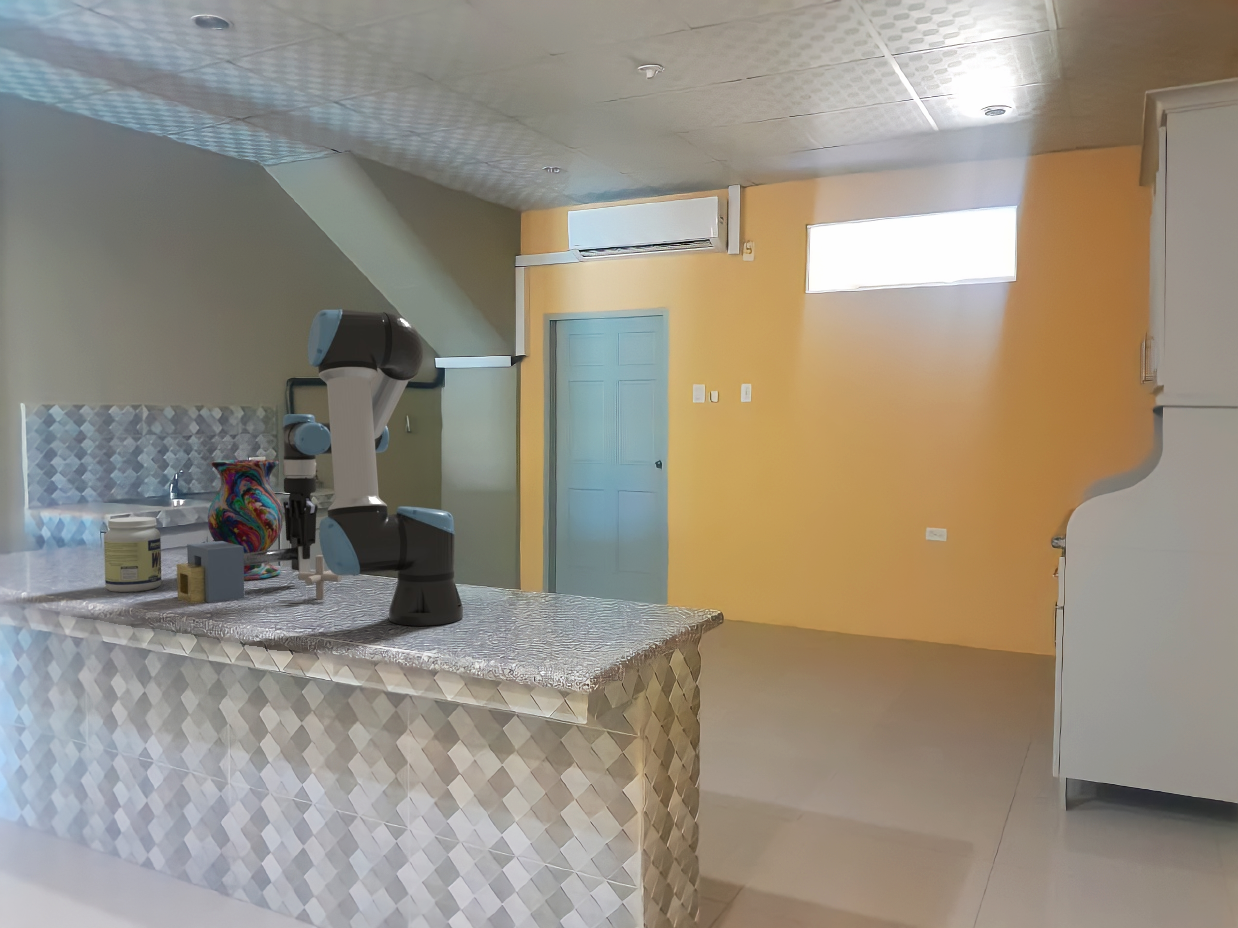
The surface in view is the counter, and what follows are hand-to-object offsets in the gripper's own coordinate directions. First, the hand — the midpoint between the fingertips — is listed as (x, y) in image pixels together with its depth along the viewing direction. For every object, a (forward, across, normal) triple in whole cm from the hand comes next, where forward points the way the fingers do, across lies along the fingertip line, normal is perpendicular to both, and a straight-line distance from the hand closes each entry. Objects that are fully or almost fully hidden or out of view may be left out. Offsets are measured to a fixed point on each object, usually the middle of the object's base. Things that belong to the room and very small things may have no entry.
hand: (300, 570), depth 232 cm
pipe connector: (+4, -19, +5) cm, 20 cm away
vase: (+4, +22, +4) cm, 23 cm away
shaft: (0, 0, +10) cm, 10 cm away
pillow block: (+4, 0, +21) cm, 21 cm away
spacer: (0, 0, +27) cm, 27 cm away
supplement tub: (+4, +24, +31) cm, 39 cm away
